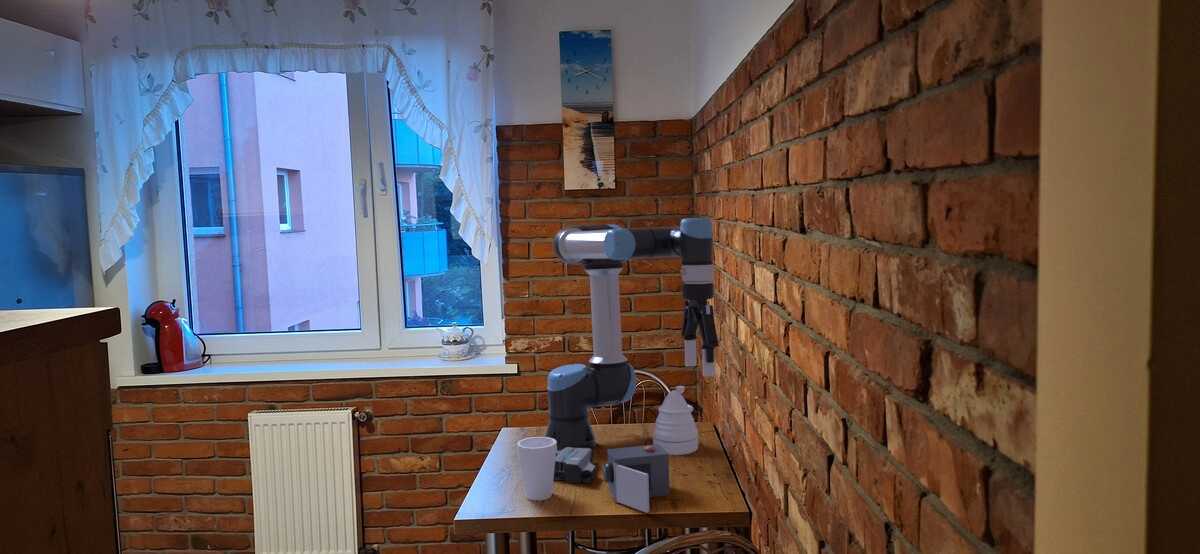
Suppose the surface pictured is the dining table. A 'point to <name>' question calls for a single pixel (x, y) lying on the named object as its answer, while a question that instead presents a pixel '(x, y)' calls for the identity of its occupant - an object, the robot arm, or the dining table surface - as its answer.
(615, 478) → the side door
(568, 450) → the camcorder
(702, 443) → the dining table surface
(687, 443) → the honey pot
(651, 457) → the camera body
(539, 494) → the foam cup
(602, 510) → the dining table surface
